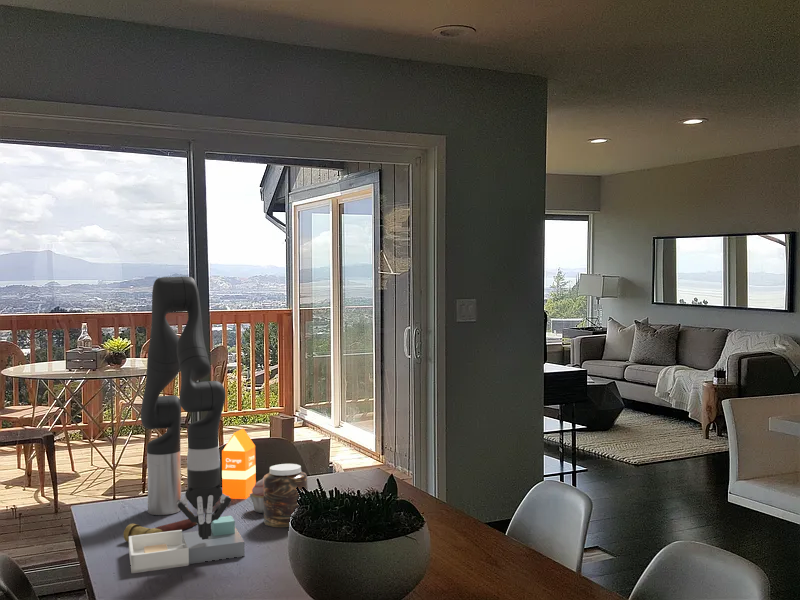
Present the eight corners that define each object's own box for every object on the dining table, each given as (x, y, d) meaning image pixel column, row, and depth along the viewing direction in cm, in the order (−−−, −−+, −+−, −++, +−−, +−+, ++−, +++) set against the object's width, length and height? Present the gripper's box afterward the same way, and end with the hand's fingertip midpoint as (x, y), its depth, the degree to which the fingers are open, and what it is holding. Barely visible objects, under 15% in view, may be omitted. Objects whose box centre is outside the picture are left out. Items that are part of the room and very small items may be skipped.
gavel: (185, 510, 212) (212, 515, 207) (185, 526, 212) (211, 532, 207) (123, 525, 194) (150, 531, 189) (122, 543, 194) (149, 550, 189)
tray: (128, 552, 186) (128, 536, 186) (182, 545, 191) (181, 529, 191) (131, 573, 172) (131, 555, 172) (188, 565, 177) (188, 548, 177)
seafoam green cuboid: (211, 529, 192) (211, 518, 192) (231, 527, 194) (231, 515, 194) (214, 535, 187) (214, 523, 187) (234, 533, 189) (234, 521, 189)
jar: (290, 512, 218) (290, 460, 218) (316, 521, 210) (315, 466, 210) (255, 521, 210) (255, 467, 210) (280, 531, 202) (280, 474, 202)
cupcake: (265, 504, 228) (265, 470, 228) (288, 509, 222) (288, 474, 222) (242, 511, 220) (241, 476, 220) (265, 517, 215) (264, 481, 215)
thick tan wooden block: (166, 543, 181) (166, 556, 181) (144, 546, 180) (144, 559, 180) (167, 550, 177) (167, 563, 177) (144, 553, 175) (145, 566, 175)
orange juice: (222, 498, 235) (221, 433, 234) (233, 490, 243) (232, 428, 243) (246, 499, 233) (245, 433, 233) (256, 491, 242) (255, 428, 242)
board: (182, 546, 190) (182, 532, 190) (235, 540, 195) (235, 526, 195) (188, 564, 178) (188, 549, 178) (244, 556, 183) (244, 541, 183)
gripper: (229, 460, 188) (230, 530, 188) (173, 465, 183) (174, 537, 183) (234, 466, 181) (235, 539, 181) (176, 471, 176) (177, 547, 176)
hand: (204, 538), depth 182 cm, fingers closed
